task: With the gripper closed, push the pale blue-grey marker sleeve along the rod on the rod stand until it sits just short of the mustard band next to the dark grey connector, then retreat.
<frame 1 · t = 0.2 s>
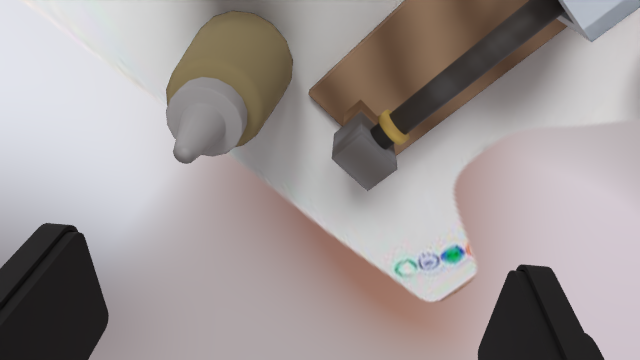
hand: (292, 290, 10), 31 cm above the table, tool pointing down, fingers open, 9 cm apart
rod stand: (480, 14, 36), on the table
squeeze bottle: (252, 48, 39), on the table
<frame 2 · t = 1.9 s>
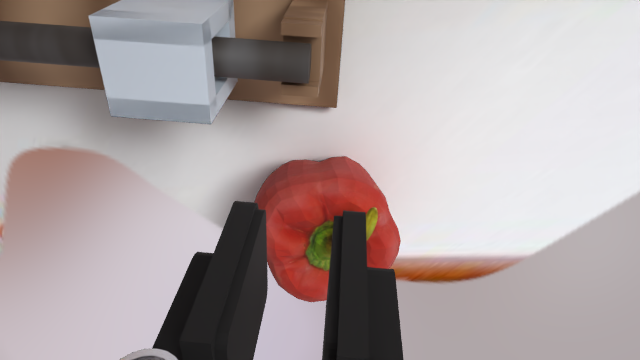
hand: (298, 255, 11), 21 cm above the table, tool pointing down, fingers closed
rod stand: (120, 13, 29), on the table
sleeve: (174, 53, 23), point 7 cm above the table, slide at 0.0 cm
vegetable: (330, 182, 35), on the table
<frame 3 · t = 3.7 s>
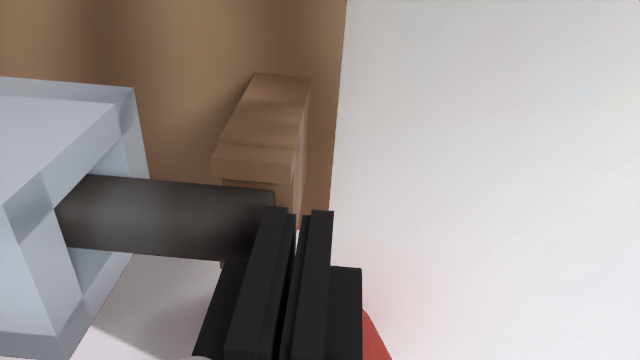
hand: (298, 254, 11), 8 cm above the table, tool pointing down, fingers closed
sleeve: (12, 204, 12), point 7 cm above the table, slide at 0.0 cm
vegetable: (319, 315, 24), on the table
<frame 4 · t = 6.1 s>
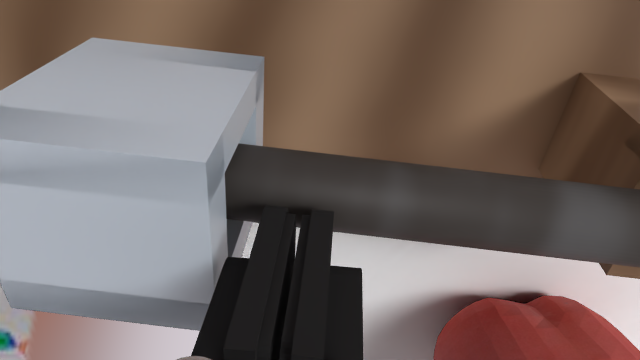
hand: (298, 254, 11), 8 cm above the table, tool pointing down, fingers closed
rod stand: (255, 79, 18), on the table
sleeve: (148, 171, 12), point 7 cm above the table, slide at 7.5 cm, touching gripper
vegetable: (519, 317, 24), on the table
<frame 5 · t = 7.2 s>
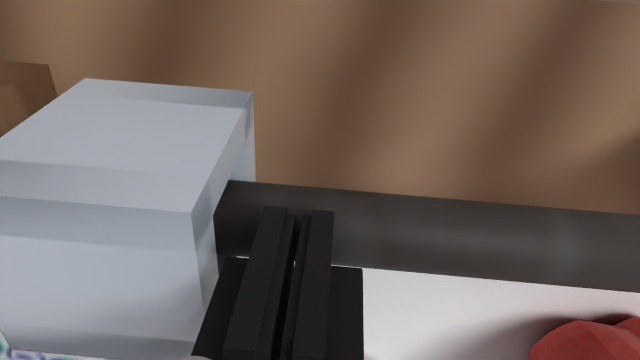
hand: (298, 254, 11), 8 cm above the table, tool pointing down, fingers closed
rod stand: (357, 115, 18), on the table
sleeve: (142, 209, 12), point 7 cm above the table, slide at 11.8 cm, touching gripper
vegetable: (603, 338, 24), on the table
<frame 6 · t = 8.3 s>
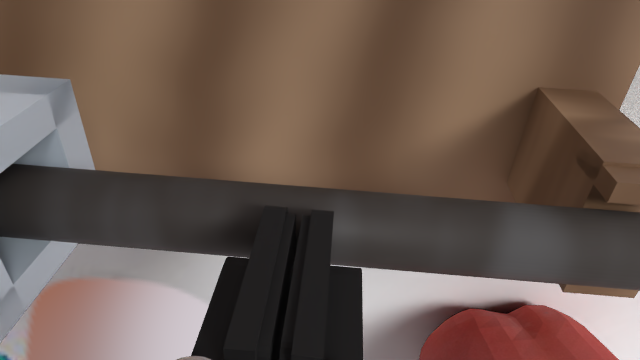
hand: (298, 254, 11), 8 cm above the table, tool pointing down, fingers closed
rod stand: (222, 105, 18), on the table
vegetable: (505, 326, 24), on the table
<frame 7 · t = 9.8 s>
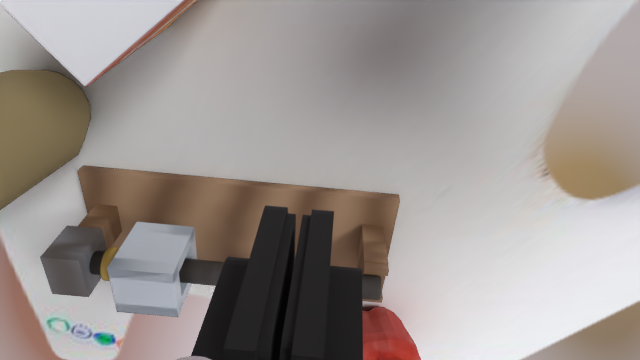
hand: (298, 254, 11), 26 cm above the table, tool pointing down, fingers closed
rod stand: (241, 223, 44), on the table
sleeve: (156, 267, 38), point 7 cm above the table, slide at 11.8 cm
vegetable: (371, 318, 50), on the table
squeeze bottle: (58, 102, 38), on the table
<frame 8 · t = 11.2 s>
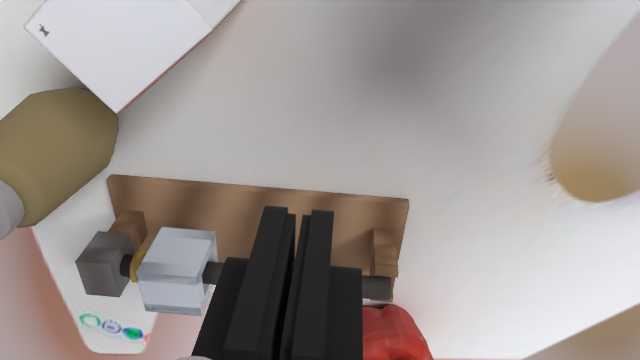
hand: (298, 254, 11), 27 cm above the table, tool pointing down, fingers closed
rod stand: (259, 226, 46), on the table
sleeve: (181, 270, 40), point 7 cm above the table, slide at 11.8 cm
vegetable: (384, 315, 52), on the table
squeeze bottle: (87, 116, 41), on the table
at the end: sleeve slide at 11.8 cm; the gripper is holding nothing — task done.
